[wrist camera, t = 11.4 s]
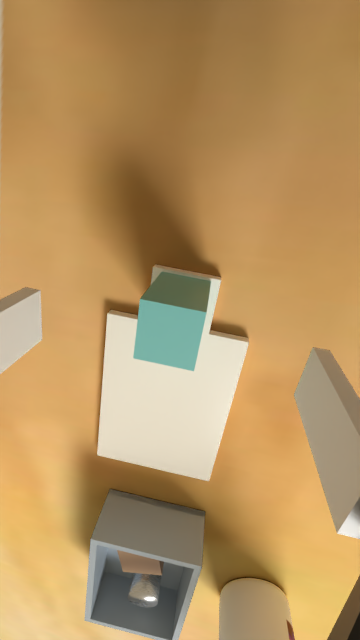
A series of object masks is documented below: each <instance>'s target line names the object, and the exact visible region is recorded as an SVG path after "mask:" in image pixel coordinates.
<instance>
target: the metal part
mask: <svg viewBox="0 0 360 640" xmlns="http://www.w3.org/2000/svg"><path fill="white" fill-rule="evenodd" d="M161 577H162V575H152V574H141V573H133V574H132V579H131V584H130V588H129V593H128V600H129V601H130V602H131V603H133V604H135V605H137V606H140V607H148V608H149V607H154V606H156V605H157V604H158V598H159V591H160V584H161Z"/></svg>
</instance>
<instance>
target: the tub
mask: <svg viewBox="0 0 360 640" xmlns="http://www.w3.org/2000/svg"><path fill="white" fill-rule="evenodd" d="M204 524H205V511H201V510H196V509H192V508H188V507H184V506H180V505H175V504H171V503H167V502H163V501H159V500H155V499H150V498H146V497H142V496H138V495H134V494H129V493H125V492H121V491H117V490H113V489H110V490H109V493H108V495H107V498H106V500H105V503H104V506H103V508H102V511H101V513H100V516H99V519H98V521H97V524H96V526H95V529H94V532H93V534H92V537H91V541H90V554H89V568H88V582H87V595H86V609H85V621H88V622H92V623H95V624H99V625H103V626H107V627H110V628H114V629H118V630H122V631H126V632H129V633H133V634H137V635H141V636H144V637H148V638H152V639H156V640H178V639H179V636H180V633H181V630H182V627H183V624H184V621H185V618H186V615H187V611H188V608H189V605H190V602H191V599H192V596H193V593H194V590H195V587H196V584H197V581H198V578H199V575H200V571H201V568H202V558H203V541H204ZM117 550H120V551H124V552H128V553H132V554H136V555H140V556H144V557H148V558H152V559H156V560H159V561H163V562H164V566H163V572H162V577H161V584H160V591H159V598H158V604H157V605H156V606H154V607H149V608H148V607H140V606H137V605H135V604H133V603H131V602H130V601H129V600H128V593H129V588H130V584H131V579H132V574H133V573H130V572H123V570H122V567H121V563H120V559H119V555H118V552H117Z"/></svg>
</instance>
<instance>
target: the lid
mask: <svg viewBox="0 0 360 640" xmlns="http://www.w3.org/2000/svg"><path fill="white" fill-rule="evenodd" d="M220 283H221V277H218V276H213V275H208V274H202V273H197V272H192V271H187V270H182V269H177V268H172V267H166V266H161V265H156V264H155V265H154V266H153V271H152V279H151V286H150V287H149V288H148V290H147V291H146V292H145V293H144V295H143V296H142V297H141V298H140V304H139V313H138V315H134V314H130V313H125V312H120V311H115V310H110V311H109V312H108V313H107V326H106V340H105V354H104V367H103V381H102V395H101V409H100V423H99V436H98V450H97V455H98V456H103V457H107V458H111V459H116V460H120V461H124V462H128V463H133V464H137V465H141V466H145V467H150V468H154V469H158V470H162V471H167V472H171V473H175V474H179V475H184V476H188V477H192V478H197V479H201V480H205V481H209V480H210V476H211V473H212V469H213V466H214V462H215V459H216V455H217V452H218V448H219V445H220V442H221V438H222V435H223V431H224V428H225V424H226V421H227V417H228V414H229V410H230V407H231V403H232V400H233V396H234V393H235V390H236V386H237V383H238V379H239V376H240V372H241V369H242V365H243V362H244V358H245V355H246V351H247V348H248V344H249V339H248V338H247V337H242V336H237V335H232V334H227V333H222V332H217V331H212V330H210V327H211V323H212V318H213V314H214V310H215V305H216V301H217V296H218V292H219V287H220Z"/></svg>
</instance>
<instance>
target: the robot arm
mask: <svg viewBox="0 0 360 640" xmlns="http://www.w3.org/2000/svg"><path fill="white" fill-rule="evenodd" d="M41 340H42V322H41V293H40V290H37V289H32V288H27V287H25V288H23V289H21V290H19V291H17V292H15V293H13V294H11V295H9V296H7V297H5V298H3V299H1V300H0V374H1V373H2V372H3V371H5V370H6V369H7V368H8V367H10V366H11V365H12V364H13V363H14V362H16V361H17V360H18V359H19V358H20V357H22V356H23V355H24V354H25V353H27V352H28V351H29V350H30V349H31V348H33V347H34V346H35V345H36V344H37V343H39V342H40V341H41ZM294 397H295V400H296V403H297V406H298V410H299V413H300V416H301V419H302V422H303V426H304V429H305V432H306V435H307V438H308V442H309V445H310V448H311V451H312V454H313V458H314V461H315V464H316V467H317V470H318V474H319V477H320V480H321V483H322V486H323V490H324V493H325V496H326V499H327V503H328V506H329V509H330V512H331V515H332V519H333V522H334V525H335V528H336V531H337V533H338V534H342V535H346V536H350V537H354V538H358V539H360V399H359V397H358V396H357V394H356V392H355V391H354V389H353V387H352V386H351V384H350V383H349V381H348V379H347V378H346V376H345V374H344V373H343V371H342V369H341V368H340V366H339V365H338V363H337V361H336V360H335V358H334V356H333V355H332V353H331V352H330V350H325V349H320V348H315V347H313V348H312V350H311V353H310V355H309V358H308V361H307V363H306V366H305V368H304V371H303V373H302V376H301V378H300V381H299V383H298V386H297V388H296V391H295V393H294ZM327 640H360V576H359V578H358V580H357V582H356V584H355V586H354V588H353V590H352V592H351V594H350V596H349V598H348V599H347V601H346V603H345V605H344V607H343V609H342V611H341V613H340V615H339V617H338V619H337V621H336V623H335V625H334V627H333V629H332V631H331V633H330V635H329V637H328V639H327Z"/></svg>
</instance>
